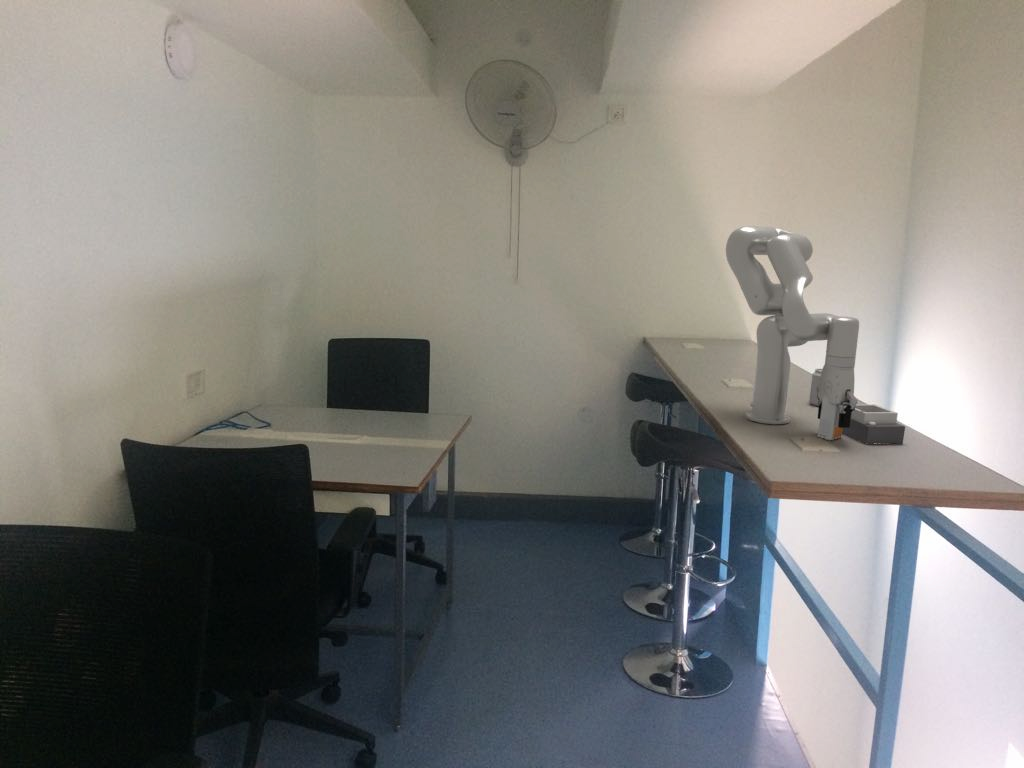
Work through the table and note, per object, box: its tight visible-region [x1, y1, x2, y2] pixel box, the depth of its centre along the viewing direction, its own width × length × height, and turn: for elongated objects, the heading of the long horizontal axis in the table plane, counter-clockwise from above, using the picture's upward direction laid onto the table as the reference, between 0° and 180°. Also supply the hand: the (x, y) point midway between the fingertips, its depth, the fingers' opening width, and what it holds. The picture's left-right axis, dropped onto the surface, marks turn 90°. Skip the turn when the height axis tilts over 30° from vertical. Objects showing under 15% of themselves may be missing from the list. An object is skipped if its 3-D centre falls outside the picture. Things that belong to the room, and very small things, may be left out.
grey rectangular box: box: [842, 403, 906, 445], centre depth 211 cm, size 16×11×8 cm
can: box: [808, 368, 823, 408], centre depth 248 cm, size 8×8×12 cm
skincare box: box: [817, 396, 846, 441], centre depth 208 cm, size 6×4×12 cm
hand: (833, 423), depth 208 cm, fingers open, 9 cm apart
